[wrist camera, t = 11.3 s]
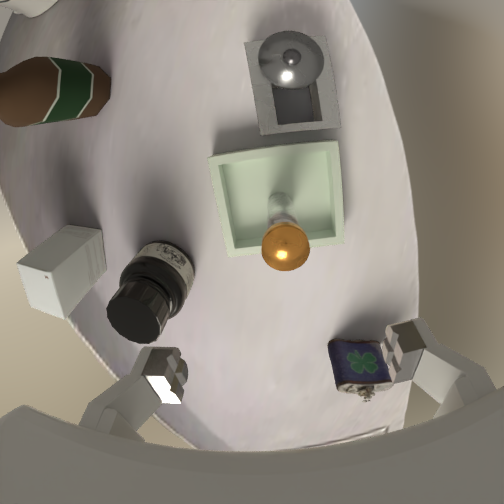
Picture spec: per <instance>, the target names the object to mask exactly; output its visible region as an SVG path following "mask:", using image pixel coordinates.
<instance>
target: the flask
mask: <svg viewBox="0 0 504 504" xmlns="http://www.w3.org/2000/svg"><path fill="white" fill-rule="evenodd" d="M328 352H329V357H330V360H331V364H332V368H333V373H334V379H335V384H336V387H337V390H338V391H339V392H343V393H353V394H358V395H359V396H365V397H364V399H365V400H364V401H363V402H367V400H366V399H371V398H372V396H374V395H375V393H374V392H380V391H385V390H388V389H390V388H391V387H392V386H393V385H394V384H393V382H392V380H391V377H390V374H389V369H388V366H387V364H386V363H385V360H384V357H383V352H382V349H381V346H380V344H379V342H377V341H373V340H370V341H363V340H354V341H351V340H347V341H346V340H340V339H333V340H331V341H329V343H328ZM368 401H370V400H368Z"/></svg>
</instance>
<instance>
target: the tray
mask: <svg viewBox="0 0 504 504" xmlns="http://www.w3.org/2000/svg"><path fill="white" fill-rule="evenodd" d="M207 159H208V164H209V169H210V174H211V179H212V184H213V189H214V194H215V198H216V203H217V208H218V213H219V218H220V222H221V227H222V232H223V236H224V241H225V246H226V250H227V255H228V257H236V256H244V255H253V254H261V253H262V252H261V247H262V238H263V235H264V233H265V232H266V230H267V206H268V200H269V198H270V197H271V196H272V195H273V194H274V193H277V192H283V193H286V194H288V195H289V196H290V197H291V199H292V202H293V205H294V209H295V212H296V216H297V219H298V223H299V226H300V227H301V228H302V229H303V230H304V231H305V233H306V235H307V238H308V241H309V245H310V248H312V247H320V246H328V245H337V244H344V214H343V194H342V179H341V167H340V156H339V146H338V141H335V140H319V141H308V142H297V143H288V144H280V145H272V146H264V147H257V148H250V149H244V150H238V151H232V152H226V153H220V154H215V155H212V156H210V157H208V158H207Z"/></svg>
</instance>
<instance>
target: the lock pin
mask: <svg viewBox="0 0 504 504" xmlns="http://www.w3.org/2000/svg"><path fill="white" fill-rule="evenodd" d="M261 252H262V256H263V259H264V260H265V262H266V263H267V264H268V265H269V266H270V267H272V268H274V269H276V270H280V271H290V270H294V269H297V268H298V267H300V266H301V265H303V264H304V263H305V261H306V260H307V258H308V256H309V253H310V245H309V241H308V238H307V235H306V233H305V231H304V230H303V229H302V228H301V227H300V226H299V223H298V219H297V216H296V212H295V209H294V205H293V202H292V199H291V197H290V196H289V195H288V194H286V193H283V192H277V193H274V194H273V195H272V196H271V197H270V198H269V200H268V206H267V230H266V232H265V233H264V235H263V238H262V247H261Z"/></svg>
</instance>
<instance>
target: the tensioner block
mask: <svg viewBox="0 0 504 504" xmlns="http://www.w3.org/2000/svg"><path fill="white" fill-rule="evenodd" d="M244 45H245V50H246V55H247V61H248V66H249V72H250V77H251V83H252V88H253V94H254V100H255V106H256V111H257V117H258V123H259V129H260V136H261V135H268V134H276V133H284V132H294V131H304V130H315V129H329V128H341V122H340V114H339V107H338V100H337V94H336V88H335V82H334V76H333V71H332V65H331V60H330V55H329V50H328V46H327V41H326V37H325V36H307V35H305V34H303V33H299V32H295V31H283V32H278V33H276V34H273V35H271V36H270V37H268V38H267V39H266V40H259V41H252V42H245V43H244ZM307 86H309V91H310V97H311V103H312V110H313V116H314V122H303V123H293V124H284V125H278V123H277V117H276V111H275V105H274V99H273V93H272V89H277V88H282V89H287V90H297V89H302V88H305V87H307Z"/></svg>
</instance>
